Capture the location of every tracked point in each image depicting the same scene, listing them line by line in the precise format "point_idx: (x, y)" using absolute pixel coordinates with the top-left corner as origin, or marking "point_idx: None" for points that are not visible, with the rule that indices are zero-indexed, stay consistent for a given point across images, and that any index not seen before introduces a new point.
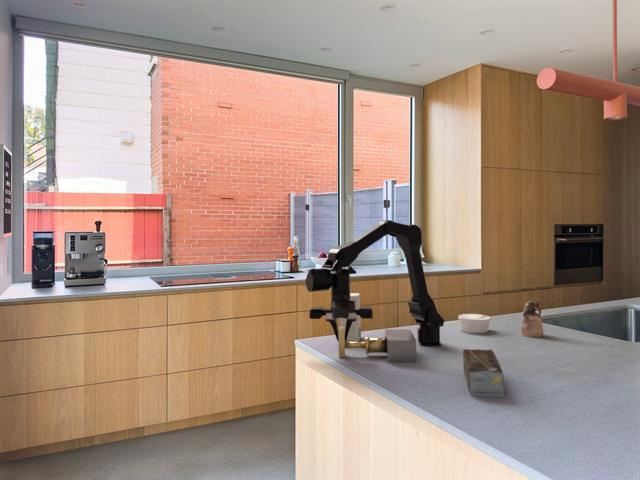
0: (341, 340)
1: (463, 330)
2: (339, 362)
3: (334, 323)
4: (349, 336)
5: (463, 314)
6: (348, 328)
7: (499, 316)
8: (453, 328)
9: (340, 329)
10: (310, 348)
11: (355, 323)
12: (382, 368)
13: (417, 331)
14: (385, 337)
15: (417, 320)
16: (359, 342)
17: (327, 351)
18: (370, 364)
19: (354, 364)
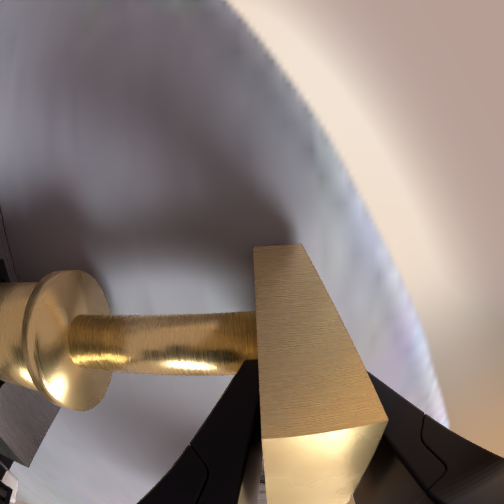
0: (297, 313)
1: None
2: (284, 116)
3: (486, 494)
4: None
5: (11, 501)
6: (187, 476)
7: (19, 499)
8: (32, 488)
9: (342, 442)
10: (436, 391)
11: None
12: (18, 57)
13: (11, 463)
14: (5, 403)
15: (5, 492)
16: (115, 352)
17: (369, 369)
18: (64, 106)
19: (162, 79)
